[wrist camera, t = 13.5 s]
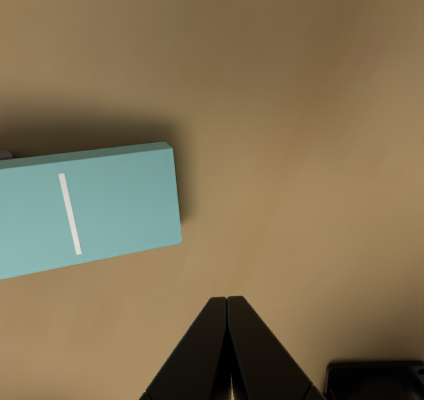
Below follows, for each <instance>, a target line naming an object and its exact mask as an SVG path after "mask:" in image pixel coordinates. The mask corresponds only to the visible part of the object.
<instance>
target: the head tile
mask: <svg viewBox="0 0 424 400" xmlns="http://www.w3.org/2000/svg"><path fill="white" fill-rule="evenodd" d="M180 243H182V236H181V226H180V216H179V206H178V196H177V186H176V176H175V166H174V156H173V148H172V147H171V146H170V145H168V144H167V143H166V142H165V141H163V142H154V143H146V144H137V145H129V146H120V147H112V148H103V149H95V150H86V151H78V152H69V153H60V154H52V155H43V156H35V157H26V158H18V159H9V160H1V161H0V280H1V279H6V278H10V277H15V276H20V275H25V274H30V273H35V272H40V271H45V270H50V269H55V268H60V267H65V266H70V265H75V264H80V263H85V262H90V261H95V260H100V259H105V258H110V257H115V256H120V255H125V254H130V253H135V252H140V251H145V250H150V249H155V248H160V247H165V246H170V245H175V244H180Z"/></svg>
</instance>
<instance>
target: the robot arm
mask: <svg viewBox="0 0 424 400" xmlns="http://www.w3.org/2000/svg"><path fill="white" fill-rule="evenodd" d="M335 371H336V372H335ZM231 377H232V382H231ZM232 389H233V397H234V400H424V362H423V361H400V362H368V363H335V364H331V365H329V366H328V367H327V369H326V382H325V392H323V393H321V392H320V391H319V390H318V388H317V387H316V386H314V385H313V383H312V381H311V380H310V379H309V377H308V376H307V375H306V374H305V373H304V371H303V370H302V369H301V368H300V366H299V365H298V364H297V363H296V361H295V360H294V359H293V358H292V356H291V355H290V354H289V353H288V351H287V350H286V349H285V348H284V346H283V345H282V344H281V343H280V341H279V340H278V339H277V338H276V336H275V335H274V334H273V333H272V331H271V330H270V329H269V328H268V326H267V325H266V324H265V323H264V321H263V320H262V319H261V318H260V317H259V315H258V314H257V313H256V312H255V310H254V309H253V308H252V307H251V305H250V304H249V303H248V302H247V300H246V299H245V298H244V297H243V296H229V297H228V298H227V299H226V297H211V298H210V299H209V300H208V302H207V303H206V305H205V306H204V308H203V309H202V310H201V312H200V313H199V315H198V316H197V318H196V319H195V320H194V322H193V323H192V325H191V326H190V328H189V329H188V330H187V332H186V333H185V335H184V336H183V338H182V339H181V340H180V342H179V343H178V345H177V346H176V348H175V349H174V350H173V352H172V353H171V355H170V356H169V358H168V359H167V360H166V362H165V363H164V365H163V366H162V368H161V369H160V370H159V372H158V373H157V375H156V376H155V378H154V379H153V380H152V382H151V383H150V385H149V386H148V388H147V389H146V392H144V393H143V394H142V396H141V397H140V399H139V400H231V392H232Z"/></svg>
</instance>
